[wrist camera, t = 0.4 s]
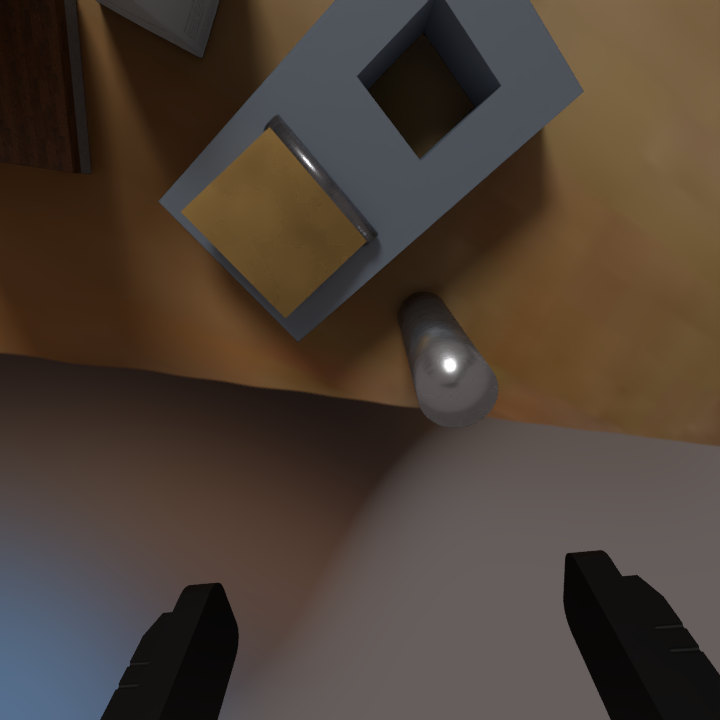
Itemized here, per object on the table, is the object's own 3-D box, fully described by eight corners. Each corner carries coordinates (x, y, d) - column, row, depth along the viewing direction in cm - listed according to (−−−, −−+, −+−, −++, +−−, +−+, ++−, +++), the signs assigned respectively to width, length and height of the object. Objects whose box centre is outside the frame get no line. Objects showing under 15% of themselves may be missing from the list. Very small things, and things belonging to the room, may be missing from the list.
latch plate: (279, 119, 24) (279, 111, 22) (376, 234, 26) (380, 232, 25) (182, 211, 24) (177, 208, 22) (287, 319, 26) (287, 321, 25)
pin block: (432, -60, 25) (450, -132, 20) (541, 111, 28) (583, 91, 23) (196, 199, 31) (158, 201, 25) (309, 317, 34) (298, 342, 28)
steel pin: (426, 281, 33) (466, 339, 20) (457, 318, 34) (514, 396, 21) (387, 314, 34) (401, 389, 21) (418, 348, 35) (449, 441, 22)
